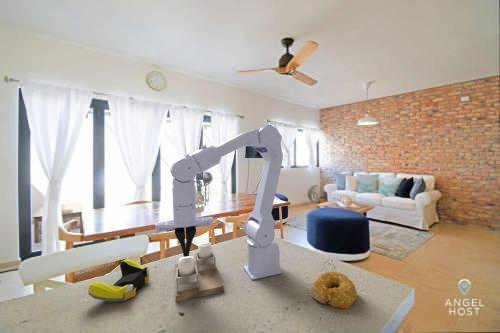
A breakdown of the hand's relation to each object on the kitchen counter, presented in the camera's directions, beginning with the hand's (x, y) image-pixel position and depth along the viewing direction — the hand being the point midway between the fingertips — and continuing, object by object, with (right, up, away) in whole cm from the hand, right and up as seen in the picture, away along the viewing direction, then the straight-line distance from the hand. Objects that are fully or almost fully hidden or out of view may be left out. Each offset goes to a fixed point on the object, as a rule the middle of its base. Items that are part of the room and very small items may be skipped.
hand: (186, 254), depth 58 cm
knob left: (0, -5, 0) cm, 5 cm away
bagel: (+38, -9, -4) cm, 39 cm away
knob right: (+3, -5, +10) cm, 11 cm away
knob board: (+2, -9, +5) cm, 11 cm away
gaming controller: (-17, -10, +1) cm, 20 cm away
